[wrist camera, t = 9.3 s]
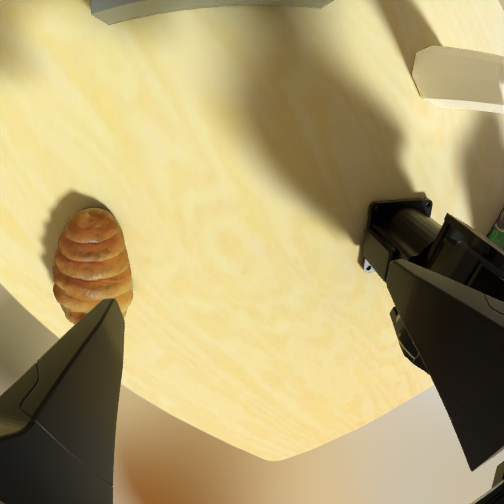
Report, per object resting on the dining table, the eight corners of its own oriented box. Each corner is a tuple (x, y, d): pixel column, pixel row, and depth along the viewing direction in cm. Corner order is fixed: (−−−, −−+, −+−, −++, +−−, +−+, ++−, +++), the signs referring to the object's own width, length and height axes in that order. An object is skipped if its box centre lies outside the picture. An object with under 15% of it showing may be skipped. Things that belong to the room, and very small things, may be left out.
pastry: (58, 198, 19) (36, 218, 16) (140, 209, 21) (130, 232, 18) (64, 298, 24) (51, 326, 20) (134, 310, 25) (128, 340, 22)
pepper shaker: (458, 107, 20) (560, 139, 10) (413, 107, 19) (525, 138, 10) (453, 48, 17) (557, 58, 7) (405, 42, 17) (519, 39, 7)
